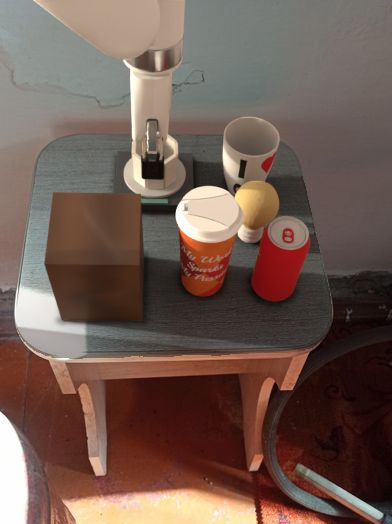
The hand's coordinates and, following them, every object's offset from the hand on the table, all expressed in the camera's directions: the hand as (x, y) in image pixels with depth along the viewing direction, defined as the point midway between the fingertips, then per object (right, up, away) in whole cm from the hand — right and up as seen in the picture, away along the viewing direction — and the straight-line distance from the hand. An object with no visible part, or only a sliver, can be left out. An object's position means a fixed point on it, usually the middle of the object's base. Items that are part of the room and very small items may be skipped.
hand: (153, 153), depth 84 cm
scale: (0, -3, +5) cm, 6 cm away
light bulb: (+15, -12, +2) cm, 19 cm away
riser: (-7, -20, -4) cm, 22 cm away
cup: (+14, -3, +6) cm, 16 cm away
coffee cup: (+7, -19, -2) cm, 21 cm away
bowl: (0, -2, +4) cm, 4 cm away
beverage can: (+17, -20, -2) cm, 27 cm away
